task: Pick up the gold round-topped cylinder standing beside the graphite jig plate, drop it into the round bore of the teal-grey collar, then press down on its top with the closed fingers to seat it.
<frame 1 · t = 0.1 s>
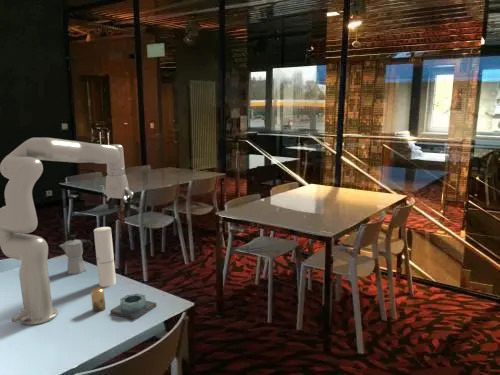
hand: (119, 209, 194), 31 cm above the table, tool pointing down, fingers open, 9 cm apart
jig: (133, 310, 163), on the table
coffee maker: (79, 271, 206), on the table
gold round-topped cylinder: (99, 309, 165), on the table
cylindrical container: (107, 283, 190), on the table
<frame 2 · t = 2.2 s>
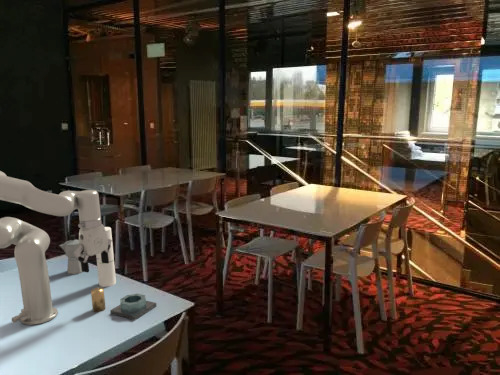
hand: (95, 267, 162), 17 cm above the table, tool pointing down, fingers open, 9 cm apart
nothing on the table moved.
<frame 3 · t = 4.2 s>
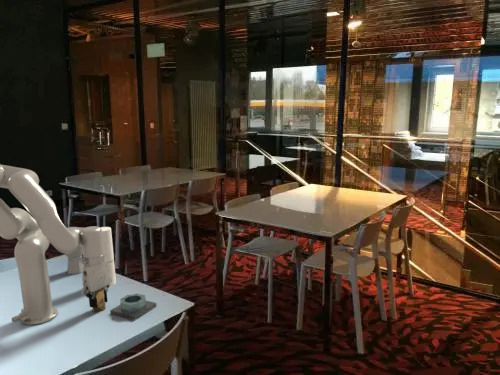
hand: (98, 304, 165), 2 cm above the table, tool pointing down, fingers closed on gold round-topped cylinder, 4 cm apart
gold round-topped cylinder: (99, 309, 165), on the table, touching gripper
everything else where it was.
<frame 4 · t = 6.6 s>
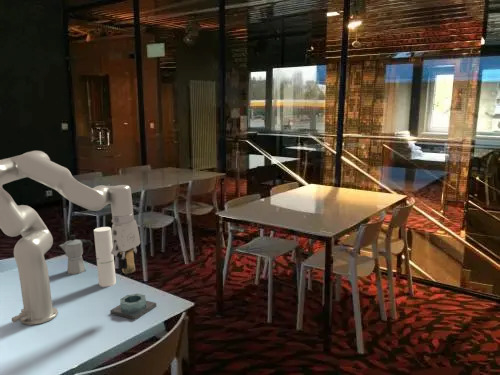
hand: (128, 265, 160), 18 cm above the table, tool pointing down, fingers closed on gold round-topped cylinder, 4 cm apart
gold round-topped cylinder: (128, 270, 161), point 16 cm above the table, touching gripper
everything else where it was.
when the fingers open (6 cm above the table, at t = 9.3 s): gold round-topped cylinder drops 2 cm, resting on jig.
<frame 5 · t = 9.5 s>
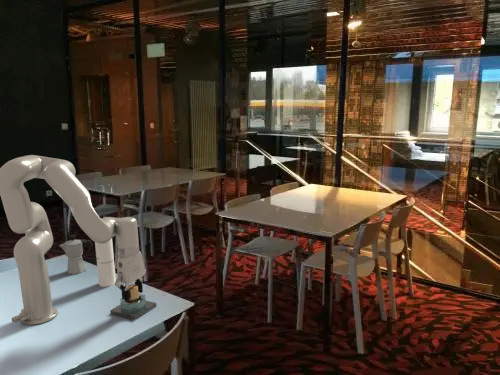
hand: (132, 295, 162), 6 cm above the table, tool pointing down, fingers open, 6 cm apart
gold round-topped cylinder: (133, 306, 163), point 2 cm above the table, touching jig
everything else where it was.
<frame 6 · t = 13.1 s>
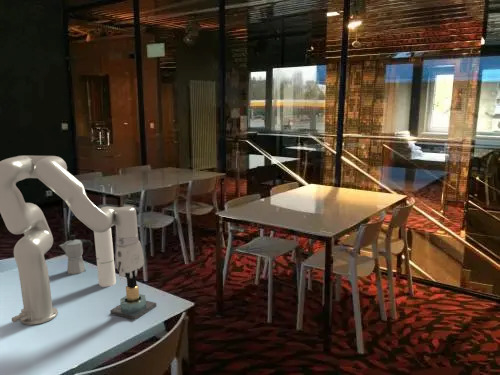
hand: (132, 286, 162), 10 cm above the table, tool pointing down, fingers closed
gold round-topped cylinder: (133, 306, 163), point 2 cm above the table, touching gripper, jig
everything else where it was.
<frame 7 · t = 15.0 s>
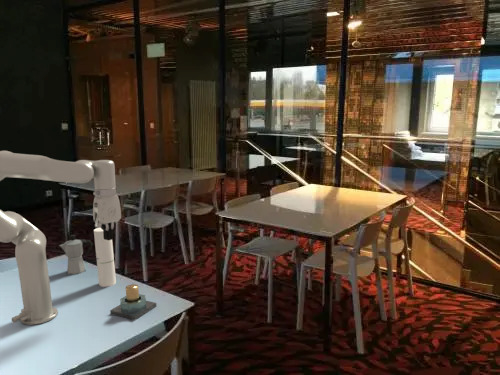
hand: (108, 239, 165), 26 cm above the table, tool pointing down, fingers closed
gold round-topped cylinder: (133, 306, 163), point 1 cm above the table, touching jig
everything else where it was.
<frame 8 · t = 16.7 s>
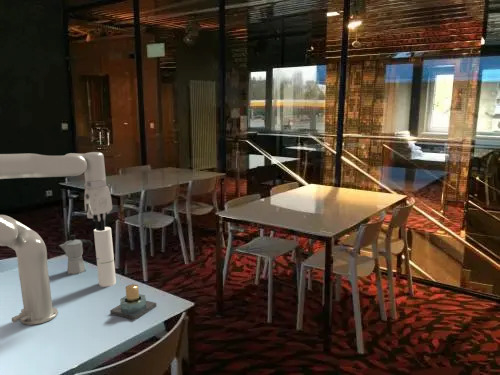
hand: (100, 230, 168), 29 cm above the table, tool pointing down, fingers closed
nothing on the table moved.
at the end: gold round-topped cylinder 0.0 cm off-centre on the jig, point 1.5 cm above the jig's base; gold round-topped cylinder tilted 0°; the gripper is holding nothing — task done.
